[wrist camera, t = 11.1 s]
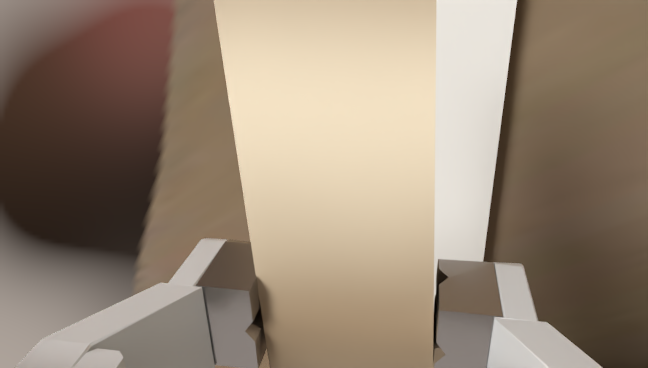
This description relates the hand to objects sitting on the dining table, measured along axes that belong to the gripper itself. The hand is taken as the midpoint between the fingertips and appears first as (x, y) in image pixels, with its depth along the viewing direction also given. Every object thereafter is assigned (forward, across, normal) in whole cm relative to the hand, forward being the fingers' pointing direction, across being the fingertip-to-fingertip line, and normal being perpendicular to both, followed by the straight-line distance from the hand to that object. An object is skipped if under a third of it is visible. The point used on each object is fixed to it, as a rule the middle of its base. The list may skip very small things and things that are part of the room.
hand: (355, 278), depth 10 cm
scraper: (+2, 0, +2) cm, 3 cm away
